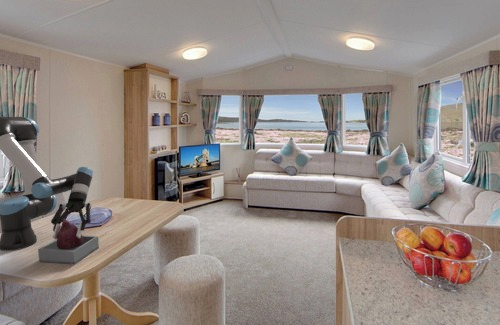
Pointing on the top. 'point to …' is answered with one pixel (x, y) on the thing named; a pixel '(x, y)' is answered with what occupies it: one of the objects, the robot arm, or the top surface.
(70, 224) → the vegetable
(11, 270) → the top surface
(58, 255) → the slate bin
